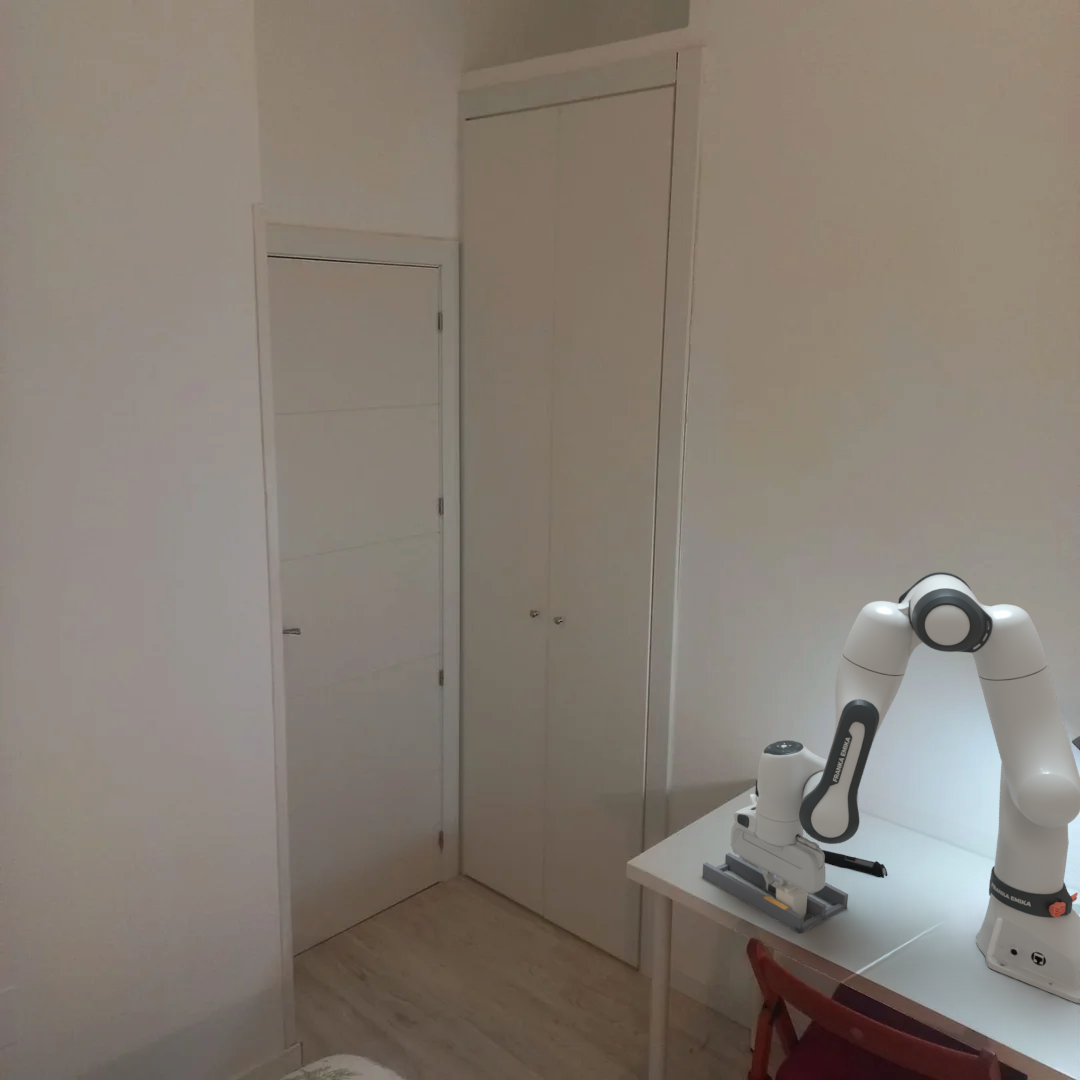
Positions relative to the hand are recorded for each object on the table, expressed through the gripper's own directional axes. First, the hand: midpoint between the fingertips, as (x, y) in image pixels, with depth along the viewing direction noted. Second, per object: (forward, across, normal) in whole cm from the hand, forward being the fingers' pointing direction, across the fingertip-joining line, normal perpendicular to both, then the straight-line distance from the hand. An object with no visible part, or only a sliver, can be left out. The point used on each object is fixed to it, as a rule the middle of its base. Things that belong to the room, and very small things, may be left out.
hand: (774, 892), depth 195 cm
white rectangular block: (+2, +10, -6) cm, 12 cm away
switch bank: (+3, +3, -3) cm, 5 cm away
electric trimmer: (+4, 0, -24) cm, 24 cm away
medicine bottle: (+3, +21, -23) cm, 31 cm away
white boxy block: (+2, -4, 0) cm, 5 cm away
